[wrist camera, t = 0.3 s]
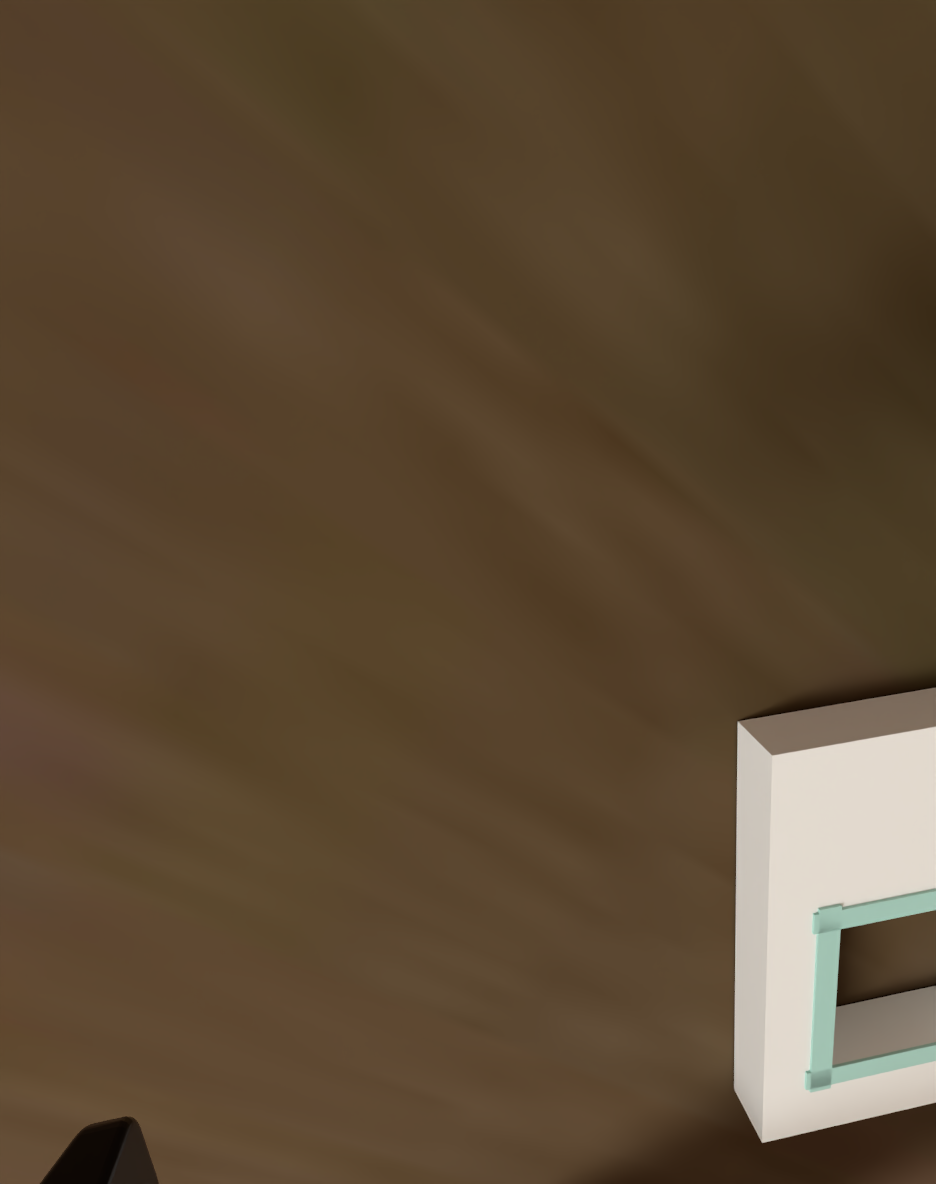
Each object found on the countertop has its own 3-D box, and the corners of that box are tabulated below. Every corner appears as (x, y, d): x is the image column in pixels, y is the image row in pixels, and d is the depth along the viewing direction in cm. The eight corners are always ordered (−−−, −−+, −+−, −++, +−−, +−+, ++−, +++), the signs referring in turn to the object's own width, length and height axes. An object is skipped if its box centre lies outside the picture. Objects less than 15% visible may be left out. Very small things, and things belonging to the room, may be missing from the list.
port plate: (994, 1030, 30) (1041, 1081, 28) (733, 1088, 29) (763, 1146, 27) (1047, 668, 25) (1108, 698, 23) (737, 721, 24) (773, 757, 22)
